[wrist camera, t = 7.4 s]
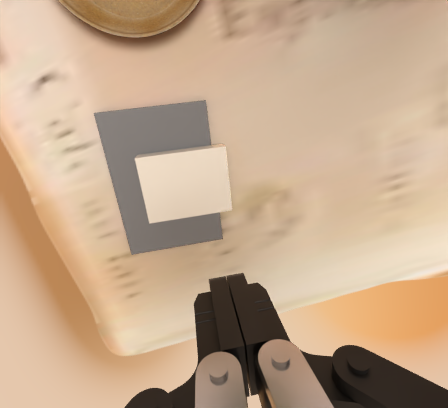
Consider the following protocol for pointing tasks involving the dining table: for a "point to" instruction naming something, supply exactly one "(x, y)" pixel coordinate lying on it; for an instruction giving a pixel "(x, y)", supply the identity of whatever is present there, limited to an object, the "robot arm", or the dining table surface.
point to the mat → (129, 179)
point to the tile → (184, 182)
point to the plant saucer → (131, 15)
